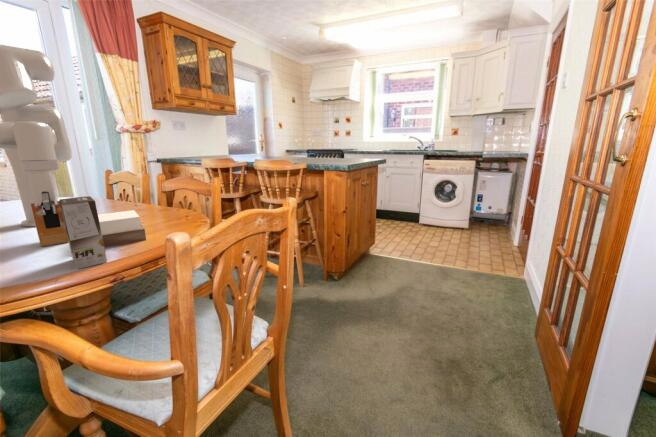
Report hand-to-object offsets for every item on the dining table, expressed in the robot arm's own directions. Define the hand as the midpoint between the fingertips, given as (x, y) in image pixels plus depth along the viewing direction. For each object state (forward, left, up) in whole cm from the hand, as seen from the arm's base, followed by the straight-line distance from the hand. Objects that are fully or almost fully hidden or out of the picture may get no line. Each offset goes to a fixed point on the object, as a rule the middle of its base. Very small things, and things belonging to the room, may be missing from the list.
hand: (54, 224), depth 89 cm
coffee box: (+25, +7, -6) cm, 26 cm away
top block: (+8, +15, -2) cm, 17 cm away
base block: (+9, +15, -6) cm, 18 cm away
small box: (0, 0, -6) cm, 6 cm away
